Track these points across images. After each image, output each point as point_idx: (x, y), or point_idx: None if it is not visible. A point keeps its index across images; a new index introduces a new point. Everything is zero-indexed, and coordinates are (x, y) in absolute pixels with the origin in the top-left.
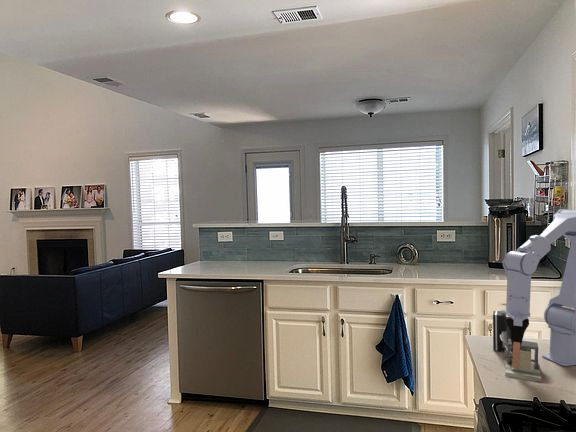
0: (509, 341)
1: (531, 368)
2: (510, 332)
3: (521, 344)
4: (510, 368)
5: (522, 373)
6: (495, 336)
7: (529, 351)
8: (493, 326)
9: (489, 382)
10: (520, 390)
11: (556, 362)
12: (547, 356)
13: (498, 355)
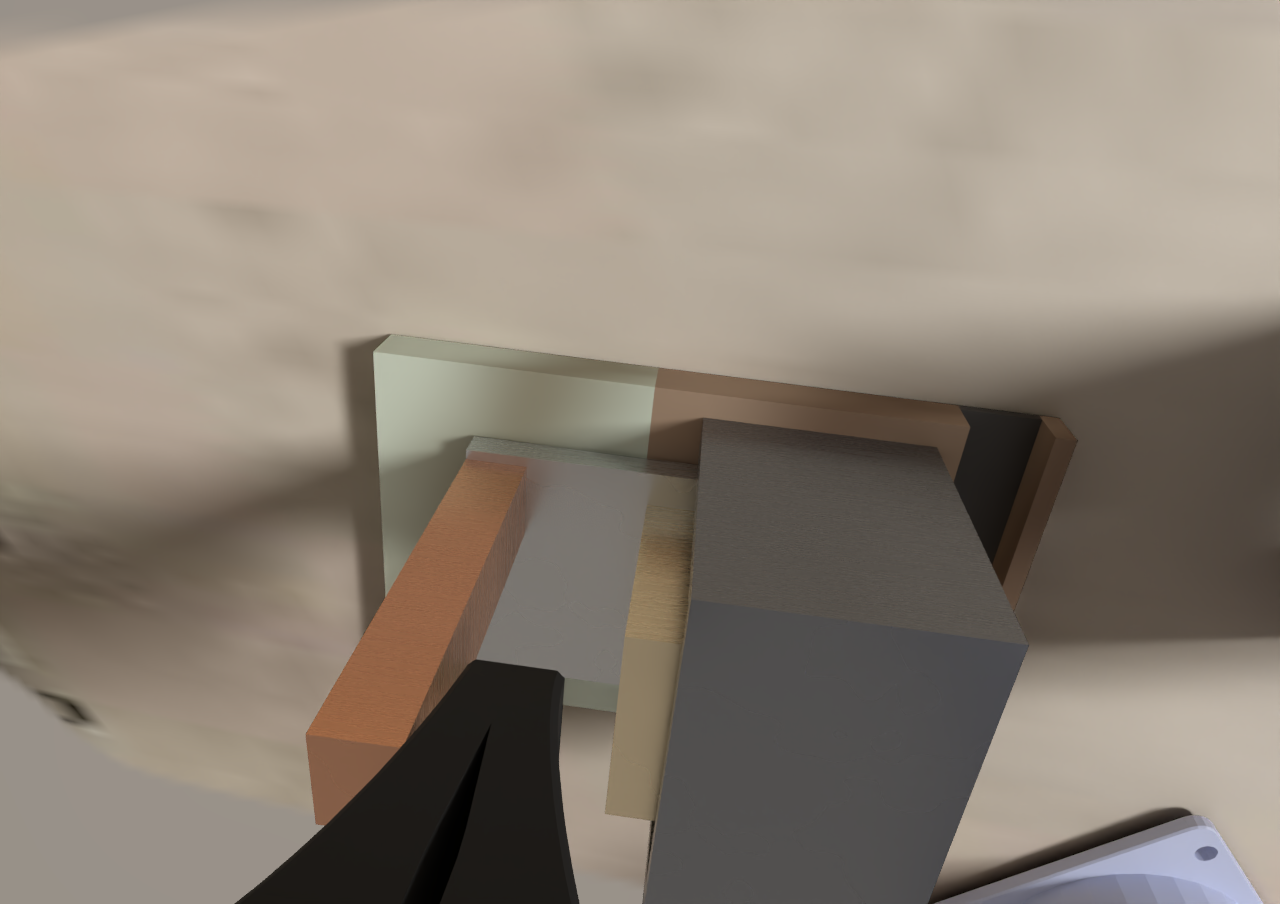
0: (842, 640)
1: (553, 654)
2: (292, 858)
3: (721, 783)
4: (542, 431)
5: None
6: None
7: (609, 797)
8: None
9: (52, 109)
10: (53, 434)
11: (999, 883)
12: (1158, 860)
13: (1198, 340)
